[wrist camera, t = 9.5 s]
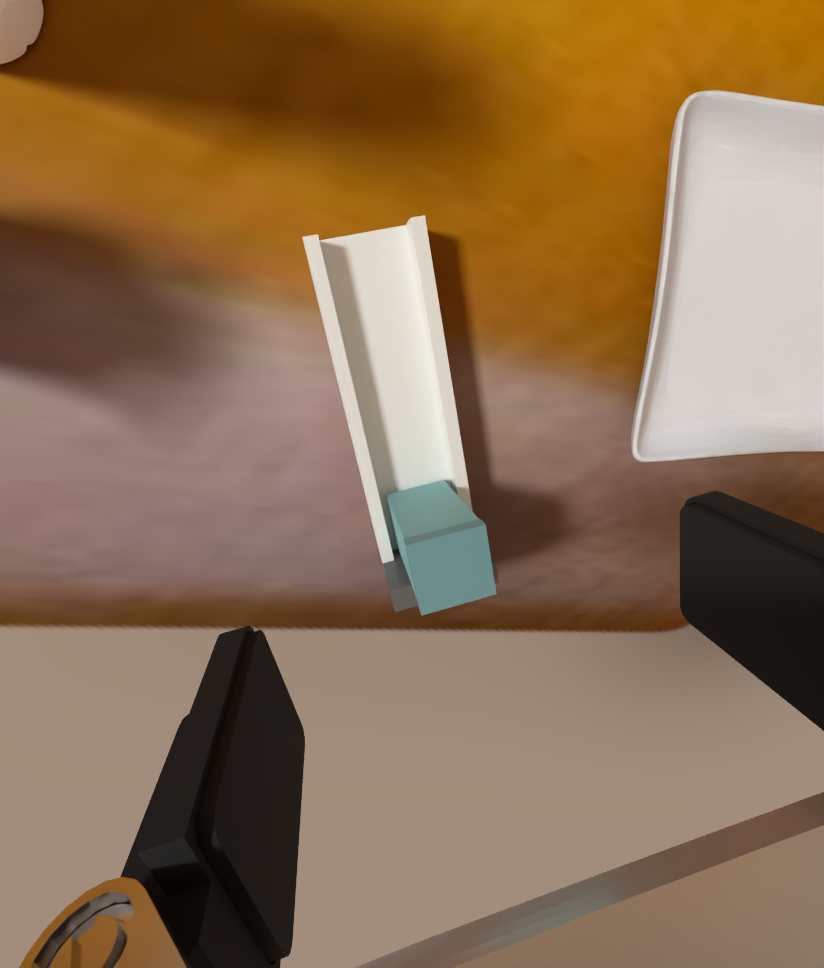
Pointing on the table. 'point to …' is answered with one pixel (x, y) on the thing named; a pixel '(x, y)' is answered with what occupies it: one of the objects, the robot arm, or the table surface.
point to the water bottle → (18, 26)
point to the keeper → (441, 546)
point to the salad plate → (738, 285)
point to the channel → (390, 372)
